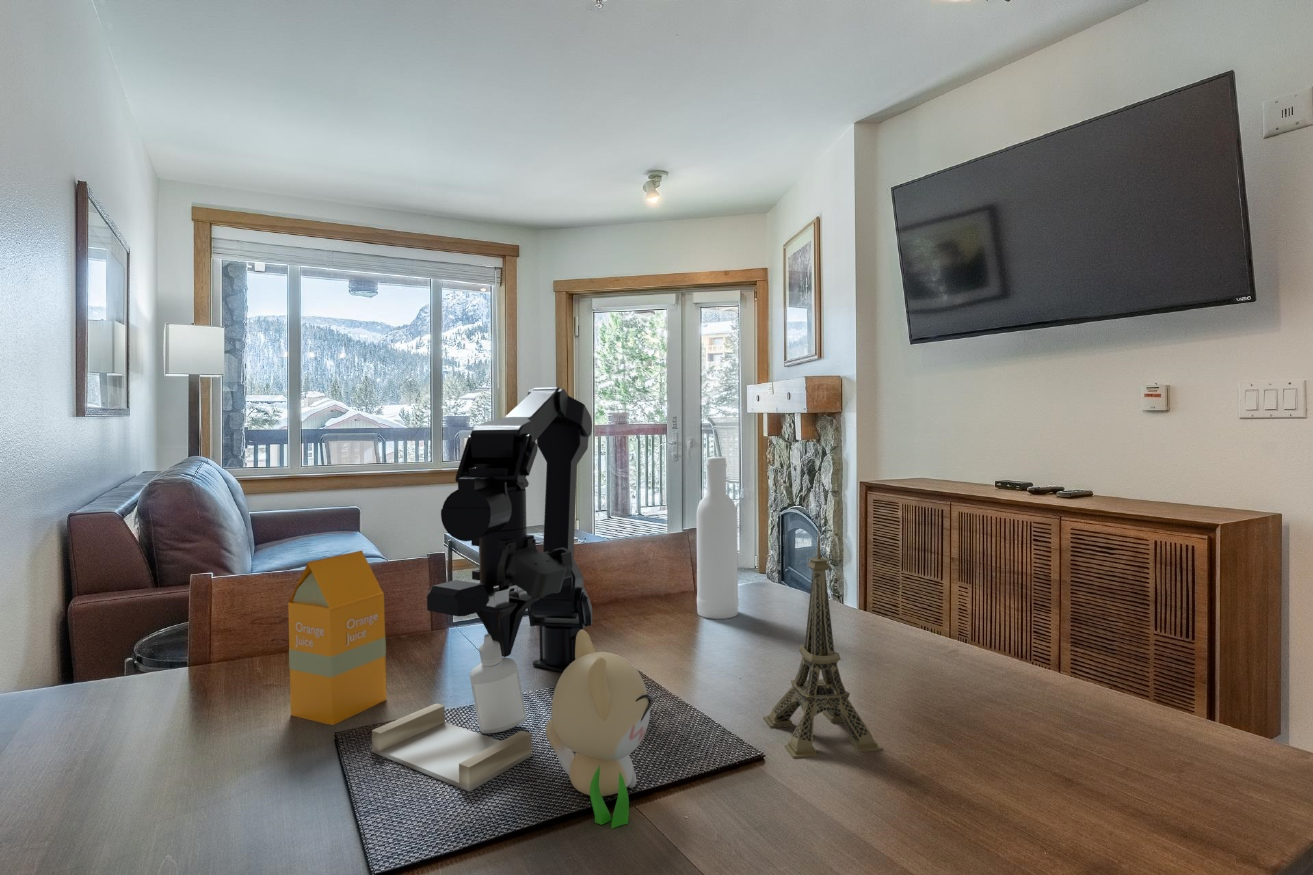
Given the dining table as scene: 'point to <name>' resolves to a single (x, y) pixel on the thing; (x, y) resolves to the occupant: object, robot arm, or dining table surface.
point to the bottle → (717, 547)
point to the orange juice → (336, 640)
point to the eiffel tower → (817, 691)
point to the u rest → (448, 748)
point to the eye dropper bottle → (496, 690)
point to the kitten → (599, 726)
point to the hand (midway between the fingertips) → (504, 655)
